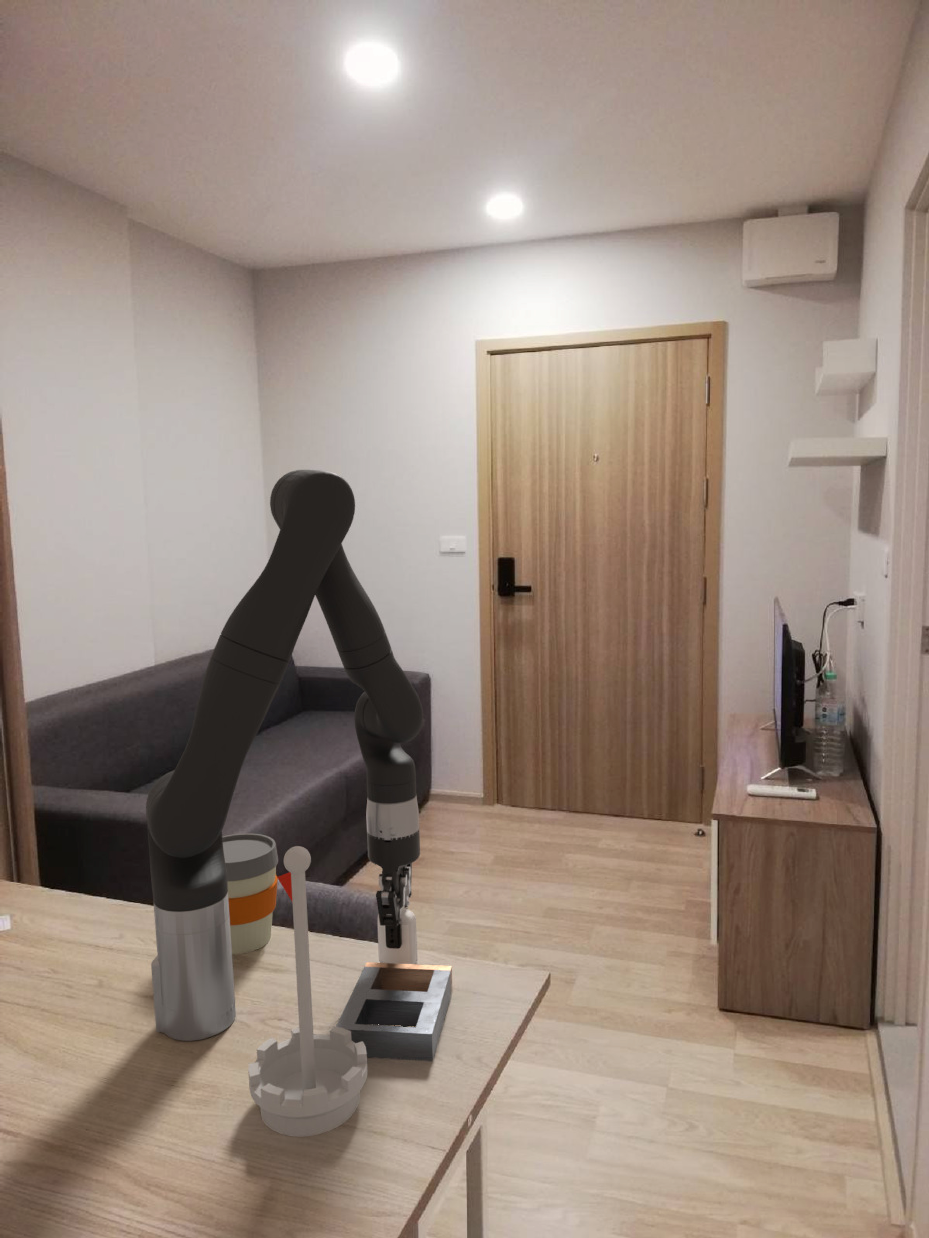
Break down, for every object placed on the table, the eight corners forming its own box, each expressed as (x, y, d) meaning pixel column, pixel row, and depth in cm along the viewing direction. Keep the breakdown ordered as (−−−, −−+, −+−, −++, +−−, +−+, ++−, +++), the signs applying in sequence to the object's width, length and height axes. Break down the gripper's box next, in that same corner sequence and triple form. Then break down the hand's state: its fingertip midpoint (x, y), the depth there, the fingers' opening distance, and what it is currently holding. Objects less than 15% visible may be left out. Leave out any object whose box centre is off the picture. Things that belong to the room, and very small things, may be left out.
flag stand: (391, 1106, 99) (380, 848, 96) (285, 1161, 91) (269, 882, 88) (331, 1052, 110) (319, 817, 106) (231, 1098, 101) (215, 845, 98)
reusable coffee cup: (185, 940, 139) (179, 848, 138) (256, 914, 148) (251, 827, 146) (224, 969, 130) (217, 870, 128) (297, 939, 139) (293, 846, 137)
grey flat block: (336, 1055, 109) (334, 1028, 108) (367, 985, 125) (366, 962, 124) (432, 1061, 107) (431, 1033, 107) (452, 989, 123) (451, 965, 122)
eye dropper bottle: (396, 975, 127) (393, 895, 125) (375, 960, 131) (372, 883, 130) (421, 965, 130) (418, 886, 128) (399, 951, 134) (396, 875, 133)
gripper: (378, 809, 135) (383, 916, 138) (354, 844, 121) (360, 963, 124) (427, 810, 134) (431, 918, 137) (409, 845, 120) (413, 965, 123)
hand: (397, 938), depth 130 cm, fingers open, 4 cm apart
